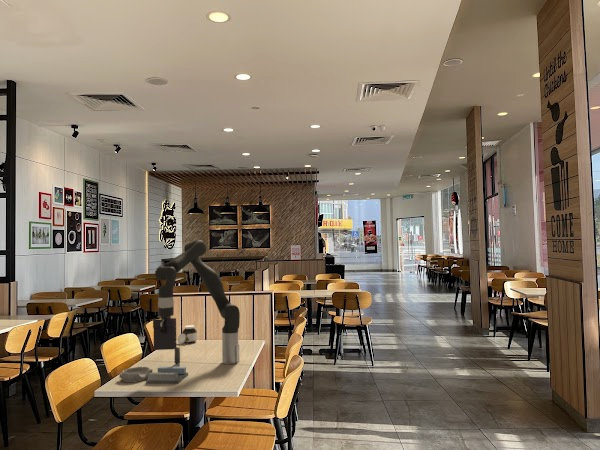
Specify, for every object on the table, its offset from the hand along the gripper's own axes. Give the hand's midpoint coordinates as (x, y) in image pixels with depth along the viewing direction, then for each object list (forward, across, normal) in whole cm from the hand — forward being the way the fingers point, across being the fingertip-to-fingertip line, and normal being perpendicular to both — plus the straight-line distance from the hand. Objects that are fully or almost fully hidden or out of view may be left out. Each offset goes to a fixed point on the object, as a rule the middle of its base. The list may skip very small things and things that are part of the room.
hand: (166, 340), depth 243 cm
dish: (+20, -2, -17) cm, 26 cm away
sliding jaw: (+18, -12, 0) cm, 21 cm away
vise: (+20, -2, 0) cm, 20 cm away
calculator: (+4, +2, 0) cm, 5 cm away
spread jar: (+20, -96, -22) cm, 100 cm away
